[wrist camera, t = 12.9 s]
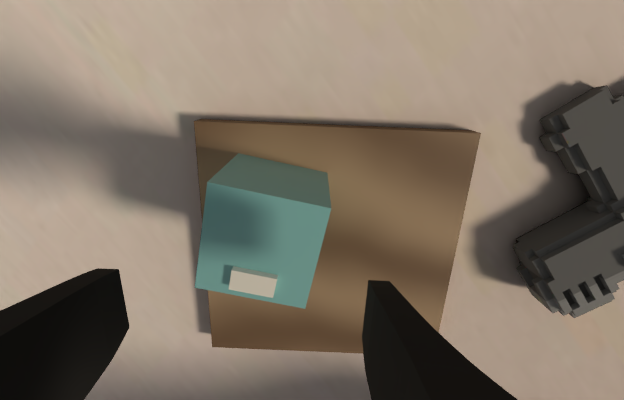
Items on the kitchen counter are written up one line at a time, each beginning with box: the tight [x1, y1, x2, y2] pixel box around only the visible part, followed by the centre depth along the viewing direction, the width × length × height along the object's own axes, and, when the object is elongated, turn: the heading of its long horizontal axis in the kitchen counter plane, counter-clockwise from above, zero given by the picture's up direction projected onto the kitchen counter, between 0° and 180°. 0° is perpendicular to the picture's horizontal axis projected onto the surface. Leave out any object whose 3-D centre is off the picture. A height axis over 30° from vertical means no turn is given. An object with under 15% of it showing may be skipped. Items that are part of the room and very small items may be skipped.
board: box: [194, 119, 481, 353], centre depth 17 cm, size 14×14×4 cm
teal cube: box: [195, 153, 331, 309], centre depth 15 cm, size 5×5×5 cm
